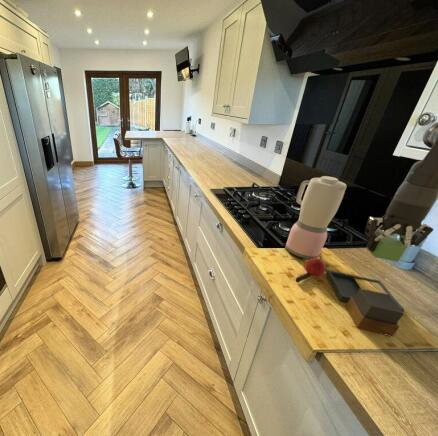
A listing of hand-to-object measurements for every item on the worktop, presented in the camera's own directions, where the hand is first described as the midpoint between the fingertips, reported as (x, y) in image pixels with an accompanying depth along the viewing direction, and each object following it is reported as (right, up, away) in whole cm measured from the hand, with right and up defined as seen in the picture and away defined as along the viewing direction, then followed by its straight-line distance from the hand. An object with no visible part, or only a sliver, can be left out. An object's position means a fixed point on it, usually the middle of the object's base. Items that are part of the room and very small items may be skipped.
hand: (382, 252), depth 70 cm
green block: (0, -1, 0) cm, 1 cm away
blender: (-7, -4, +29) cm, 30 cm away
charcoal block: (-7, -16, -5) cm, 18 cm away
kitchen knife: (-11, -9, +14) cm, 20 cm away
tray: (0, -14, +7) cm, 16 cm away
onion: (-12, -11, +14) cm, 21 cm away
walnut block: (-8, -19, -3) cm, 21 cm away
